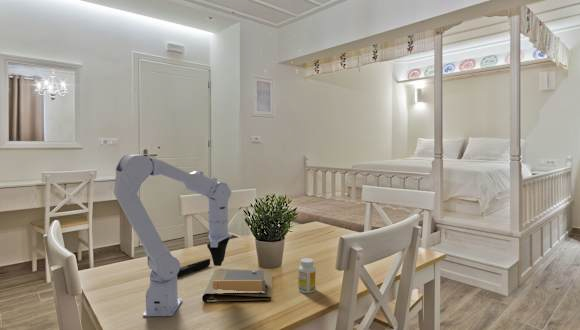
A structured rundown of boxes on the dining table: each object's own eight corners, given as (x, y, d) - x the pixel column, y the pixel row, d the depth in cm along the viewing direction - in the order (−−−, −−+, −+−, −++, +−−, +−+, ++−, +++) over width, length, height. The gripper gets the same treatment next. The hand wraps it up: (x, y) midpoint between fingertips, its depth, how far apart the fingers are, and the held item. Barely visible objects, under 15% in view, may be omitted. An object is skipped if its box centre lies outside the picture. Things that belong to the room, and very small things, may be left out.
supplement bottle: (299, 293, 105) (299, 263, 105) (297, 286, 111) (297, 257, 110) (316, 293, 106) (316, 262, 105) (313, 285, 111) (314, 257, 111)
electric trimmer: (212, 267, 129) (212, 259, 128) (175, 279, 117) (175, 270, 117) (206, 265, 131) (206, 257, 131) (169, 277, 119) (169, 268, 119)
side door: (265, 294, 105) (265, 281, 104) (212, 294, 104) (212, 281, 104) (265, 292, 106) (265, 279, 106) (213, 292, 106) (213, 279, 105)
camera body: (262, 292, 106) (262, 278, 106) (223, 292, 106) (223, 278, 106) (263, 280, 115) (263, 267, 115) (228, 281, 115) (228, 268, 115)
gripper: (227, 225, 99) (227, 272, 99) (234, 215, 113) (235, 255, 114) (202, 226, 98) (203, 272, 99) (213, 215, 113) (214, 255, 114)
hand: (219, 263), depth 107 cm, fingers open, 3 cm apart
